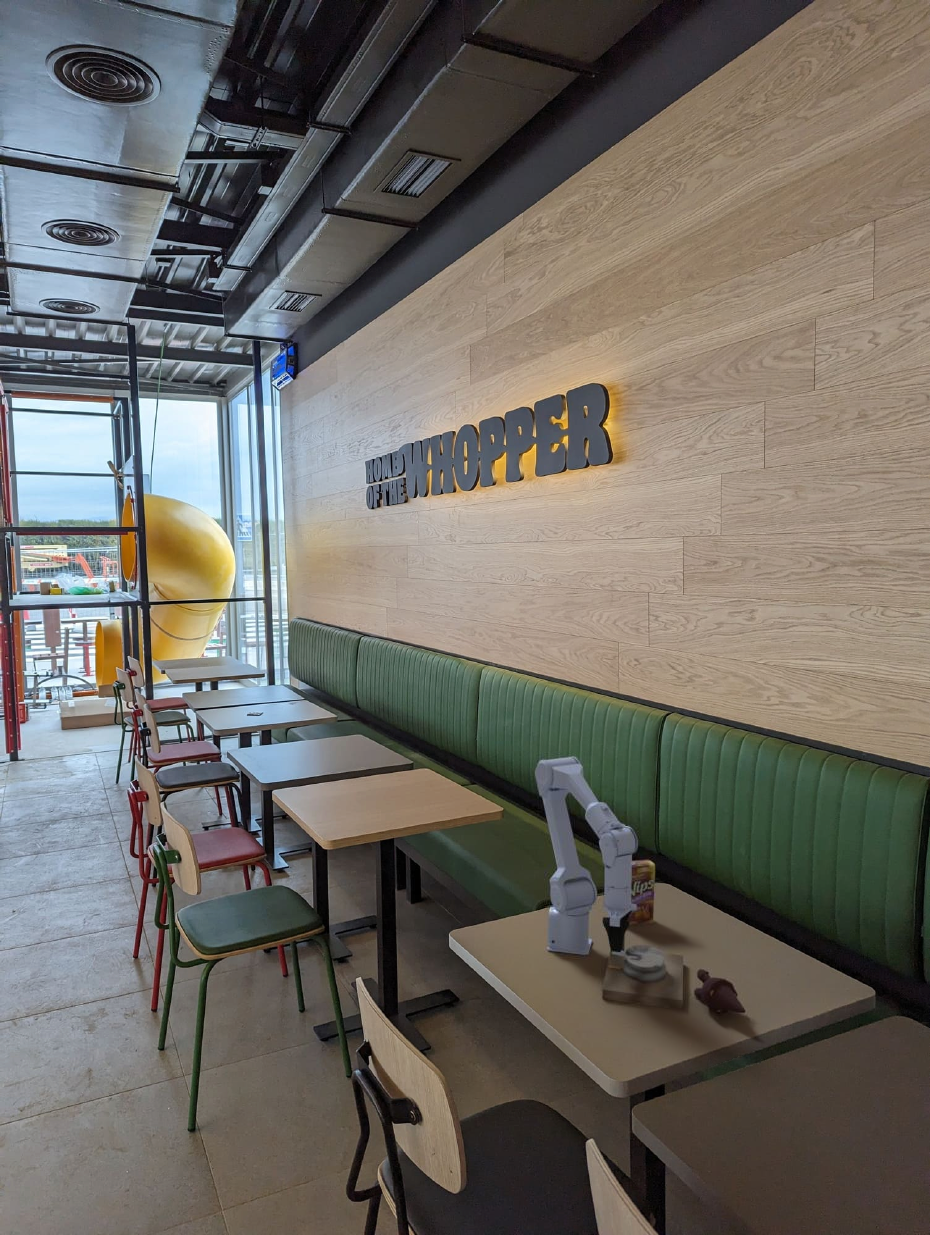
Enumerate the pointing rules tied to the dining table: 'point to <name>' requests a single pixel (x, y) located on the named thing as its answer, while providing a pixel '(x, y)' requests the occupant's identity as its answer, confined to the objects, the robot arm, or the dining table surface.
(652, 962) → the grey disc with handle
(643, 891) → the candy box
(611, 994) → the lock base
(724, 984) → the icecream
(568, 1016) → the dining table surface
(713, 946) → the dining table surface
